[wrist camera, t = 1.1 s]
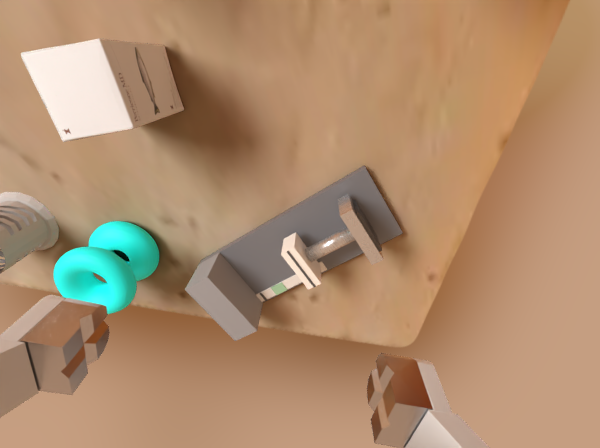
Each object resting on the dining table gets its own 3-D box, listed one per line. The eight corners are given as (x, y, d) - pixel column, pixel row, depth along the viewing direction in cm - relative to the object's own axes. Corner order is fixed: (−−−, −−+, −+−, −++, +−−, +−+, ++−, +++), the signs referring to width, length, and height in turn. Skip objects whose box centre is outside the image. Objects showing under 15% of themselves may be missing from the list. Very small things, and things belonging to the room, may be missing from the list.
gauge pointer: (295, 232, 44) (294, 248, 40) (320, 266, 46) (321, 283, 43) (283, 238, 44) (280, 255, 41) (308, 272, 47) (308, 290, 43)
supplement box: (186, 111, 40) (135, 132, 28) (130, 120, 40) (59, 144, 29) (166, 43, 36) (100, 36, 25) (105, 54, 37) (14, 53, 26)
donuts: (124, 327, 43) (47, 305, 42) (157, 281, 52) (94, 261, 51) (134, 271, 39) (48, 243, 38) (167, 231, 48) (99, 208, 46)
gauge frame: (364, 165, 42) (373, 184, 35) (400, 229, 46) (414, 257, 39) (201, 259, 50) (184, 289, 43) (244, 307, 54) (235, 340, 47)
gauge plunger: (351, 191, 41) (355, 208, 37) (379, 238, 44) (386, 258, 40) (293, 223, 44) (291, 242, 39) (324, 265, 47) (325, 287, 42)
